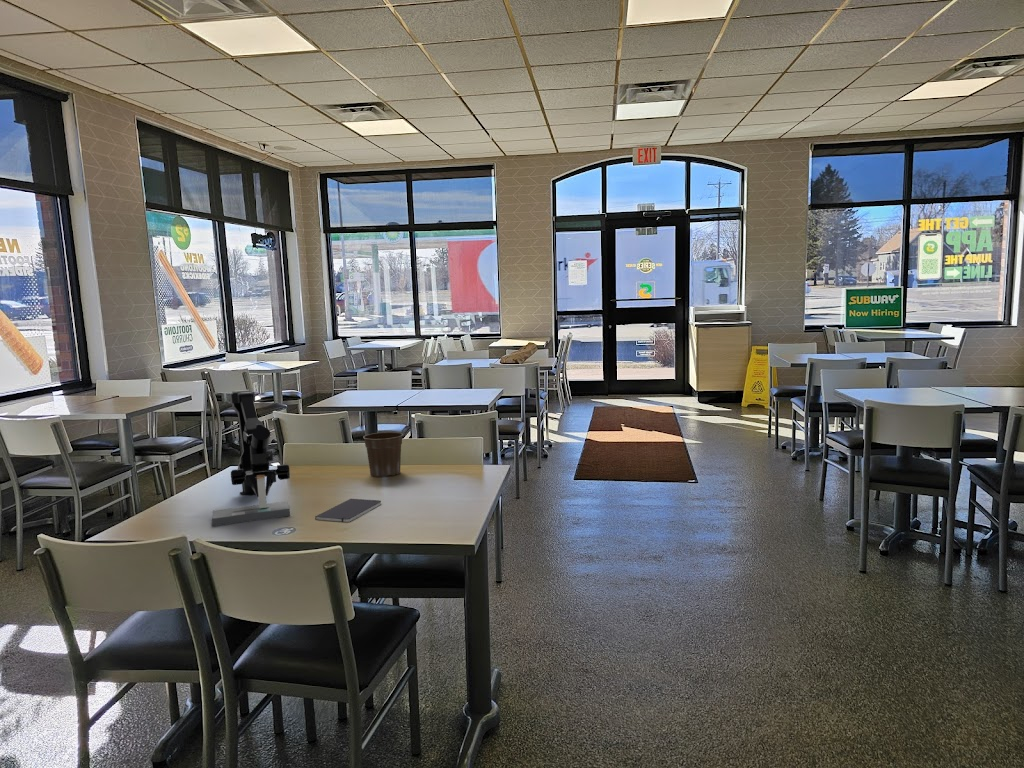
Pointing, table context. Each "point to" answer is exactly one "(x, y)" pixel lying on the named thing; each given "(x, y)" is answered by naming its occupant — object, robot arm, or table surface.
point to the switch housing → (250, 513)
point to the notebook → (348, 510)
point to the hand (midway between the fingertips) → (262, 495)
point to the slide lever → (261, 491)
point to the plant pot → (384, 453)
